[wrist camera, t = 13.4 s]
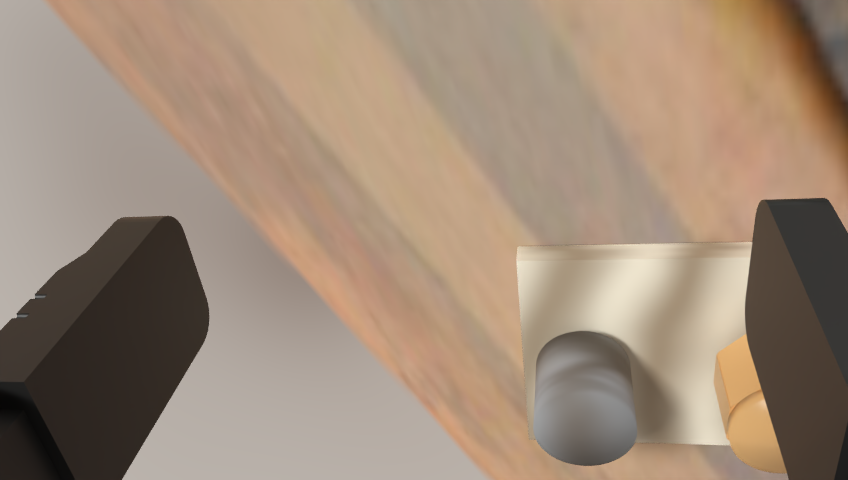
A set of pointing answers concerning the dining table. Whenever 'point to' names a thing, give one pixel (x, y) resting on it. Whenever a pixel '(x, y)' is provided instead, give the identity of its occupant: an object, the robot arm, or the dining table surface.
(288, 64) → the dining table surface
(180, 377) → the robot arm
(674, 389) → the board
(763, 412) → the orange cap
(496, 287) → the dining table surface
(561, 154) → the dining table surface
